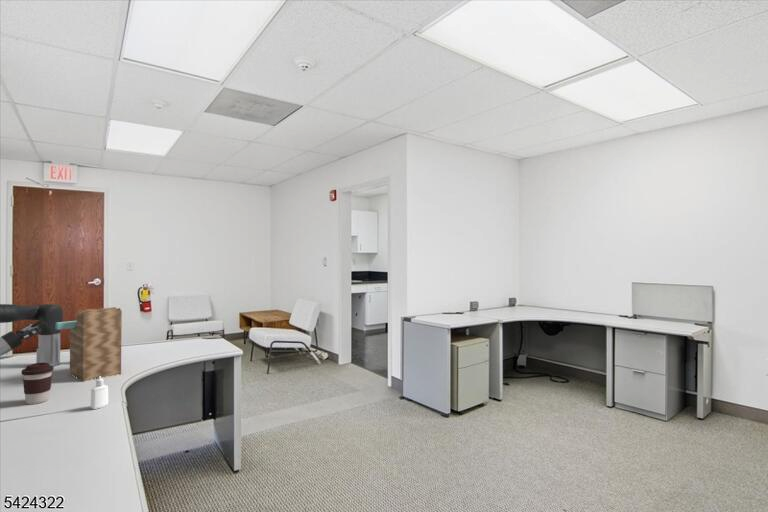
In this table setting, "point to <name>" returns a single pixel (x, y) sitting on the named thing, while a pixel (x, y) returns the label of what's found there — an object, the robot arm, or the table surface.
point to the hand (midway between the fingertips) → (45, 322)
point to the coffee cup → (37, 382)
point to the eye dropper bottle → (99, 394)
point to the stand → (96, 343)
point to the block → (66, 325)
